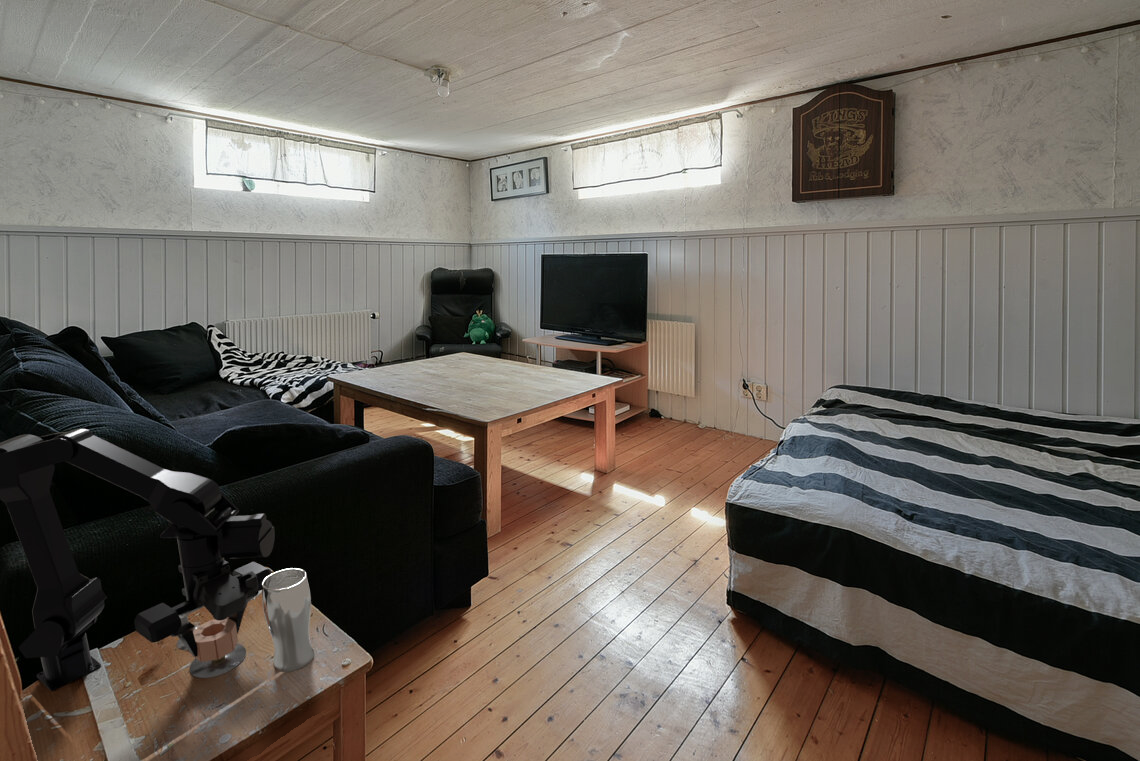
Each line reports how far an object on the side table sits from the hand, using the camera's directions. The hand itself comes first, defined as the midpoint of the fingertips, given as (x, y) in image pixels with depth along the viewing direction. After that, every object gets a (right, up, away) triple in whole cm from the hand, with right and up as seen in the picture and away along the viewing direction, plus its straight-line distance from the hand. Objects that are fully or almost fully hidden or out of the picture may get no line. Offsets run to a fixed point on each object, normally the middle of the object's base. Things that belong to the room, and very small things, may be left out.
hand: (215, 644), depth 94 cm
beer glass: (+12, -3, +1) cm, 13 cm away
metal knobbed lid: (-7, -2, +6) cm, 10 cm away
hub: (0, -3, +1) cm, 3 cm away
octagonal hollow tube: (0, -1, 0) cm, 1 cm away
